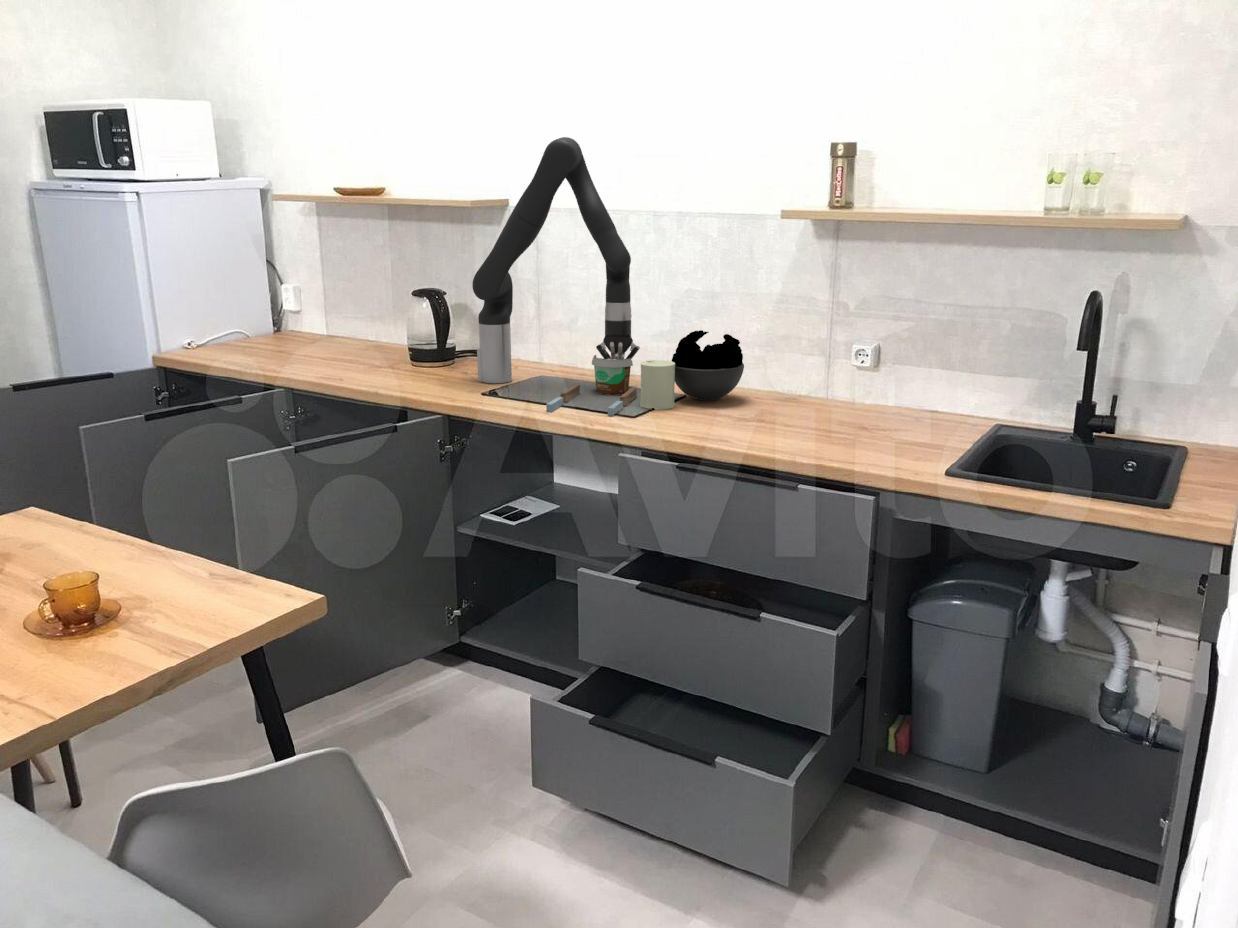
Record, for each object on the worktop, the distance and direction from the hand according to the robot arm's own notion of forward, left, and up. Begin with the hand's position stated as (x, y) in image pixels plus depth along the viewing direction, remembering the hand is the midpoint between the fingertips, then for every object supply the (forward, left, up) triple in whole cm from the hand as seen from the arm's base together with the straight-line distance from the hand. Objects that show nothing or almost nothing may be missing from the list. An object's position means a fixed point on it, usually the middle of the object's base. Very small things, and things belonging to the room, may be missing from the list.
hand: (617, 377), depth 286 cm
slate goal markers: (0, -32, -2) cm, 32 cm away
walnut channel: (0, -19, -2) cm, 19 cm away
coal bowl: (+28, -11, -3) cm, 30 cm away
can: (+17, -22, -3) cm, 28 cm away
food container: (0, -10, -3) cm, 11 cm away
